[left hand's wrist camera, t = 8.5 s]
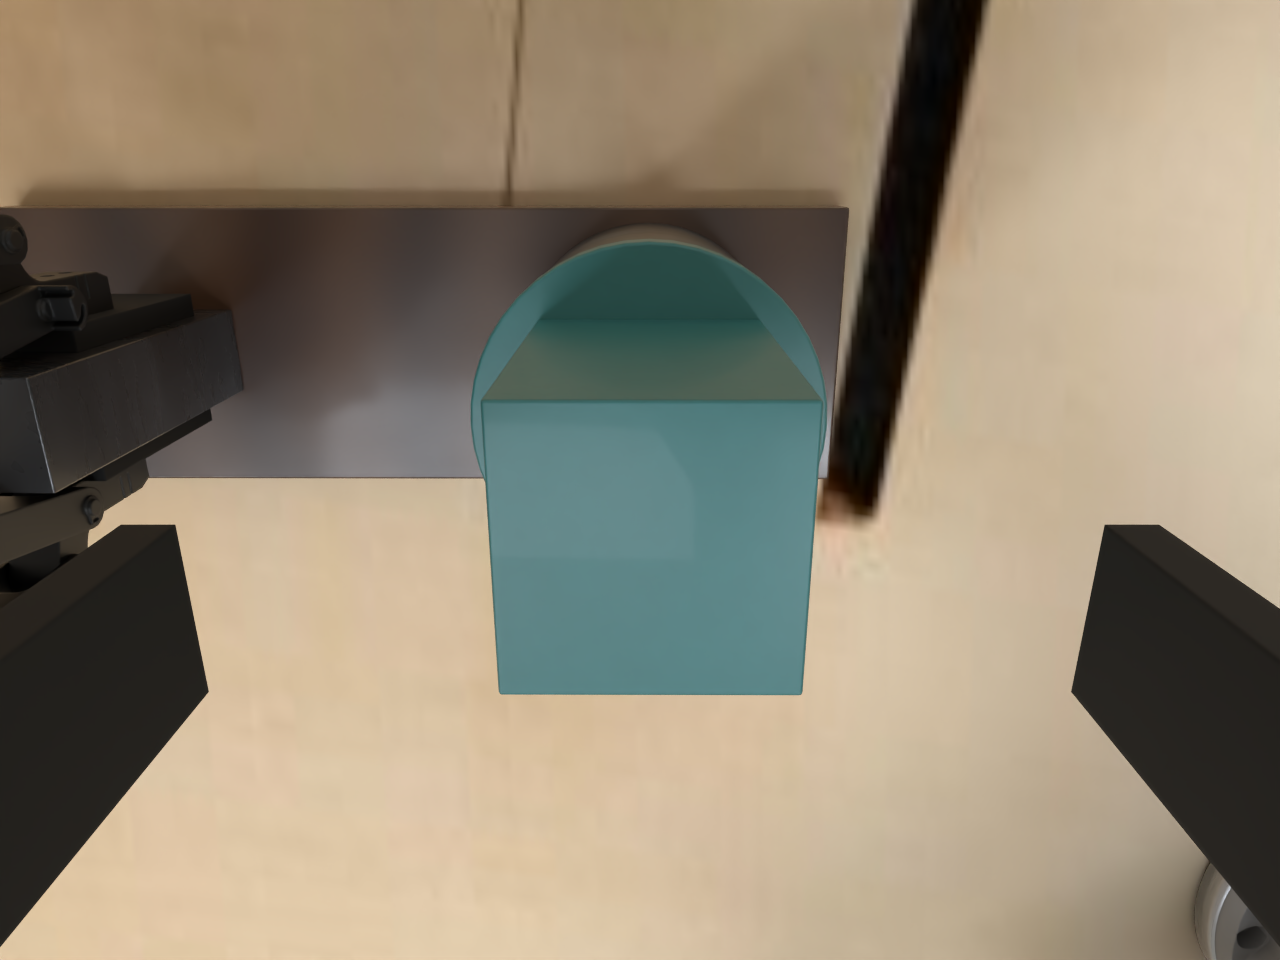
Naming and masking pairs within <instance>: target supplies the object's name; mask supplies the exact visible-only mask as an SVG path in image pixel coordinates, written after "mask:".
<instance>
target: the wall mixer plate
mask: <svg viewBox="0 0 1280 960" xmlns="http://www.w3.org/2000/svg"><path fill="white" fill-rule="evenodd" d="M0 214H5V215H9V216H12V217H14V218H15V219H16V220H17V221H18V222H19V223H20V224H21V226H22V227H23V229H24V231H25V234H26V237H27V242H28V251H27V254H26V258H25V259H24V260H23V261H22V263H21V264H22V266H23V268H24V269H25V271H26V272H27V273H28V274H29V275H31V274H37V273H43V272H98V273H101V274H103V275H105V276H107V277H108V282H109V287H110V292H111V294H191V299H192V305H193V311H194V316H191V317H188V318H185V319H182V320H179V321H176V322H173V323H169V324H166V325H163V326H160V327H157V328H154V329H151V330H148V331H144V332H141V333H138V334H135V335H132V336H129V337H126V338H123V339H120V340H116V341H113V342H110V343H107V344H104V345H101V346H98V347H95V348H91V349H88V350H85V351H82V352H79V353H11V354H9V355H7V356H5V357H3V358H1V359H0V493H56V492H58V491H60V490H62V489H64V488H65V487H67V486H69V485H71V484H73V483H75V482H76V481H78V480H80V479H82V478H84V477H86V476H87V475H89V474H91V473H93V472H95V471H97V470H98V469H100V468H102V467H104V466H106V465H107V464H109V463H111V462H113V461H115V460H117V459H118V458H120V457H122V456H124V455H126V454H128V453H129V452H131V451H133V450H135V449H137V448H139V447H140V446H142V445H144V444H146V443H148V442H150V441H151V440H153V439H155V438H157V437H159V436H161V435H162V434H164V433H166V432H168V431H170V430H171V429H173V428H175V427H177V426H179V425H181V424H182V423H184V422H186V421H188V420H190V419H192V418H193V417H195V416H197V415H199V414H201V413H203V412H204V411H206V410H208V409H211V415H212V421H210V422H208V423H207V424H205V425H203V426H201V427H200V428H198V429H196V430H195V431H193V432H191V433H189V434H188V435H186V436H184V437H182V438H181V439H179V440H177V441H175V442H174V443H172V444H170V445H168V446H167V447H165V448H163V449H161V450H160V451H158V452H156V453H154V454H153V455H151V456H149V457H147V458H146V463H147V468H148V473H149V478H483V476H482V473H481V471H480V469H479V465H478V461H477V458H476V454H475V450H474V446H473V439H472V431H471V397H472V389H473V382H474V378H475V374H476V370H477V367H478V363H479V360H480V357H481V354H482V352H483V350H484V348H485V345H486V343H487V341H488V338H489V336H490V335H491V333H492V331H493V330H494V328H495V326H496V325H497V323H498V322H499V320H500V318H501V317H502V315H503V314H504V313H505V312H506V310H507V309H508V308H509V307H510V306H511V304H512V303H513V302H514V301H515V299H516V298H517V297H518V296H519V295H520V294H521V293H522V292H523V291H524V290H526V289H527V288H528V287H529V286H530V285H531V284H532V283H533V282H534V281H535V280H536V279H537V278H538V277H540V276H541V275H543V274H544V273H546V272H547V271H548V270H550V269H551V268H553V267H554V266H556V265H557V264H559V263H561V262H563V261H565V260H567V259H568V258H570V257H572V256H574V255H576V254H578V253H581V252H584V251H586V250H589V249H592V248H595V247H598V246H601V245H605V244H610V243H615V242H619V241H624V240H638V239H661V240H674V241H679V242H684V243H688V244H693V245H698V246H700V247H703V248H706V249H709V250H712V251H715V252H717V253H720V254H722V255H724V256H726V257H728V258H730V259H732V260H734V261H735V262H737V263H739V264H741V265H743V266H744V267H745V268H747V269H748V270H750V271H751V272H752V273H754V274H755V275H757V276H758V277H760V278H761V279H762V280H763V281H764V282H765V283H766V284H767V285H768V286H769V287H770V288H771V289H773V290H774V291H775V292H776V293H777V294H778V295H779V296H780V297H781V298H782V299H783V300H784V301H785V303H786V304H787V305H788V306H789V308H790V309H791V310H792V311H793V313H794V314H795V315H796V316H797V318H798V319H799V321H800V323H801V324H802V326H803V328H804V329H805V331H806V333H807V334H808V336H809V338H810V340H811V343H812V345H813V347H814V350H815V352H816V354H817V357H818V359H819V363H820V367H821V370H822V374H823V378H824V382H825V390H826V398H827V430H826V437H825V444H824V449H823V453H822V456H821V460H820V463H819V473H818V479H827V478H828V475H829V462H830V449H831V436H832V424H833V411H834V398H835V385H836V372H837V359H838V346H839V333H840V321H841V308H842V295H843V282H844V269H845V256H846V243H847V230H848V218H849V208H847V207H841V206H6V207H0Z"/></svg>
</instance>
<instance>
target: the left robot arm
mask: <svg viewBox="0 0 1280 960" xmlns="http://www.w3.org/2000/svg"><path fill="white" fill-rule="evenodd" d="M208 692H209V691H208V686H207V681H206V676H205V671H204V666H203V661H202V656H201V651H200V646H199V641H198V636H197V631H196V626H195V621H194V616H193V611H192V606H191V601H190V596H189V591H188V586H187V581H186V576H185V571H184V566H183V561H182V556H181V551H180V546H179V541H178V536H177V531H176V526H175V525H120V526H119V527H117V528H116V529H114V530H113V531H111V532H110V533H108V534H107V535H106V536H104V537H103V538H101V539H100V540H98V541H97V542H96V543H94V544H93V545H91V546H90V547H88V548H87V549H85V550H84V551H83V552H81V553H80V554H78V555H77V556H75V557H74V558H73V559H71V560H70V561H68V562H67V563H65V564H64V565H62V566H61V567H60V568H58V569H57V570H55V571H54V572H52V573H51V574H50V575H48V576H47V577H45V578H44V579H42V580H41V581H40V582H38V583H37V584H35V585H34V586H32V587H31V588H29V589H28V590H27V591H25V592H24V593H22V594H21V595H19V596H18V597H17V598H15V599H14V600H12V601H11V602H9V603H8V604H6V605H5V606H4V607H2V608H1V609H0V947H1V945H2V944H3V943H4V942H5V941H6V939H7V938H8V937H9V936H10V934H11V933H12V932H13V931H14V930H15V928H16V927H17V926H18V925H19V923H20V922H21V921H22V920H23V918H24V917H25V916H26V915H27V914H28V912H29V911H30V910H31V909H32V907H33V906H34V905H35V904H36V903H37V901H38V900H39V899H40V898H41V896H42V895H43V894H44V893H45V892H46V890H47V889H48V888H49V887H50V885H51V884H52V883H53V882H54V881H55V879H56V878H57V877H58V876H59V874H60V873H61V872H62V871H63V870H64V868H65V867H66V866H67V865H68V863H69V862H70V861H71V860H72V858H73V857H74V856H75V855H76V854H77V852H78V851H79V850H80V849H81V847H82V846H83V845H84V844H85V843H86V841H87V840H88V839H89V838H90V836H91V835H92V834H93V833H94V832H95V830H96V829H97V828H98V827H99V825H100V824H101V823H102V822H103V821H104V819H105V818H106V817H107V816H108V814H109V813H110V812H111V811H112V810H113V808H114V807H115V806H116V805H117V803H118V802H119V801H120V800H121V798H122V797H123V796H124V795H125V794H126V792H127V791H128V790H129V789H130V787H131V786H132V785H133V784H134V783H135V781H136V780H137V779H138V778H139V776H140V775H141V774H142V773H143V772H144V770H145V769H146V768H147V767H148V765H149V764H150V763H151V762H152V761H153V759H154V758H155V757H156V756H157V754H158V753H159V752H160V751H161V750H162V748H163V747H164V746H165V745H166V743H167V742H168V741H169V740H170V739H171V737H172V736H173V735H174V734H175V732H176V731H177V730H178V729H179V727H180V726H181V725H182V724H183V723H184V721H185V720H186V719H187V718H188V716H189V715H190V714H191V713H192V712H193V710H194V709H195V708H196V707H197V705H198V704H199V703H200V702H201V701H202V699H203V698H204V697H205V696H206V694H207V693H208ZM1071 692H1072V693H1073V694H1074V696H1075V697H1076V698H1077V699H1078V701H1079V702H1080V703H1081V704H1082V705H1083V707H1084V708H1085V709H1086V710H1087V712H1088V713H1089V714H1090V715H1091V716H1092V718H1093V719H1094V720H1095V721H1096V723H1097V724H1098V725H1099V726H1100V727H1101V729H1102V730H1103V731H1104V732H1105V734H1106V735H1107V736H1108V737H1109V739H1110V740H1111V741H1112V742H1113V743H1114V745H1115V746H1116V747H1117V748H1118V750H1119V751H1120V752H1121V753H1122V754H1123V756H1124V757H1125V758H1126V759H1127V761H1128V762H1129V763H1130V764H1131V765H1132V767H1133V768H1134V769H1135V770H1136V772H1137V773H1138V774H1139V775H1140V776H1141V778H1142V779H1143V780H1144V781H1145V783H1146V784H1147V785H1148V786H1149V787H1150V789H1151V790H1152V791H1153V792H1154V794H1155V795H1156V796H1157V797H1158V799H1159V800H1160V801H1161V802H1162V803H1163V805H1164V806H1165V807H1166V808H1167V810H1168V811H1169V812H1170V813H1171V814H1172V816H1173V817H1174V818H1175V819H1176V821H1177V822H1178V823H1179V824H1180V825H1181V827H1182V828H1183V829H1184V830H1185V832H1186V833H1187V834H1188V835H1189V836H1190V838H1191V839H1192V840H1193V841H1194V843H1195V844H1196V845H1197V846H1198V847H1199V849H1200V850H1201V851H1202V852H1203V854H1204V855H1205V856H1206V857H1207V858H1208V860H1209V861H1210V864H1209V866H1208V868H1207V869H1206V871H1205V874H1204V876H1203V878H1202V881H1201V883H1200V887H1199V890H1198V893H1197V898H1196V904H1195V917H1194V920H1195V930H1196V935H1197V939H1198V942H1199V945H1200V947H1201V950H1202V952H1203V954H1204V956H1205V957H1206V959H1207V960H1280V609H1279V608H1278V607H1276V606H1275V605H1274V604H1272V603H1271V602H1269V601H1268V600H1266V599H1265V598H1263V597H1262V596H1261V595H1259V594H1258V593H1256V592H1255V591H1253V590H1252V589H1251V588H1249V587H1248V586H1246V585H1245V584H1243V583H1242V582H1240V581H1239V580H1238V579H1236V578H1235V577H1233V576H1232V575H1230V574H1229V573H1228V572H1226V571H1225V570H1223V569H1222V568H1220V567H1219V566H1218V565H1216V564H1215V563H1213V562H1212V561H1210V560H1209V559H1207V558H1206V557H1205V556H1203V555H1202V554H1200V553H1199V552H1197V551H1196V550H1195V549H1193V548H1192V547H1190V546H1189V545H1187V544H1186V543H1184V542H1183V541H1182V540H1180V539H1179V538H1177V537H1176V536H1174V535H1173V534H1172V533H1170V532H1169V531H1167V530H1166V529H1164V528H1163V527H1161V526H1160V525H1105V526H1104V531H1103V536H1102V541H1101V546H1100V551H1099V556H1098V561H1097V566H1096V571H1095V576H1094V581H1093V586H1092V591H1091V596H1090V601H1089V606H1088V611H1087V616H1086V621H1085V626H1084V631H1083V636H1082V641H1081V646H1080V651H1079V656H1078V661H1077V666H1076V671H1075V676H1074V681H1073V686H1072V691H1071Z"/></svg>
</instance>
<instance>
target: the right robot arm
mask: <svg viewBox="0 0 1280 960" xmlns="http://www.w3.org/2000/svg"><path fill="white" fill-rule="evenodd" d="M27 251H28V242H27V237H26V234H25V231H24V229H23V227H22V226H21V224H20V223H19V222H18V221H17V220H16V219H15V218H14V217H12V216H9V215H5V214H0V359H1V358H3V357H5V356H7V355H9V354H11V353H79V352H82V351H85V350H88V349H91V348H95V347H98V346H101V345H104V344H107V343H110V342H113V341H116V340H120V339H123V338H126V337H129V336H132V335H135V334H138V333H141V332H144V331H148V330H151V329H154V328H157V327H160V326H163V325H166V324H169V323H173V322H176V321H179V320H182V319H185V318H188V317H191V316H194V311H193V305H192V299H191V294H111V292H110V287H109V282H108V277H107V276H105V275H103V274H101V273H98V272H43V273H37V274H31V275H29V274H28V273H27V272H26V271H25V269H24V268H23V266H22V264H21V263H22V261H23V260H24V259H25V258H26V254H27ZM210 421H212V415H211V409H208V410H206V411H204V412H203V413H201V414H199V415H197V416H195V417H193V418H192V419H190V420H188V421H186V422H184V423H182V424H181V425H179V426H177V427H175V428H173V429H171V430H170V431H168V432H166V433H164V434H162V435H161V436H159V437H157V438H155V439H153V440H151V441H150V442H148V443H146V444H144V445H142V446H140V447H139V448H137V449H135V450H133V451H131V452H129V453H128V454H126V455H124V456H122V457H120V458H118V459H117V460H115V461H113V462H111V463H109V464H107V465H106V466H104V467H102V468H100V469H98V470H97V471H95V472H93V473H91V474H89V475H87V476H86V477H84V478H82V479H80V480H78V481H76V482H75V483H73V484H71V485H69V486H67V487H65V488H64V489H62V490H60V491H58V492H56V493H0V609H1V608H2V607H4V606H5V605H6V604H8V603H9V602H11V601H12V600H14V599H15V598H17V597H18V596H19V595H21V594H22V593H24V592H25V591H27V590H28V589H29V588H31V587H32V586H34V585H35V584H37V583H38V582H40V581H41V580H42V579H44V578H45V577H47V576H48V575H50V574H51V573H52V572H54V571H55V570H57V569H58V568H60V567H61V566H62V565H64V564H65V563H67V562H68V561H70V560H71V559H73V558H74V557H75V556H77V555H78V554H80V553H81V552H83V551H84V550H85V549H87V548H88V533H89V530H90V529H93V528H94V527H96V526H97V525H99V523H100V521H101V520H102V517H103V513H104V511H105V510H107V509H109V508H110V507H112V506H113V505H115V504H117V503H118V502H120V501H121V500H123V499H124V498H126V497H128V496H129V495H131V493H134V492H136V491H137V490H139V489H140V488H142V487H143V485H144V484H145V482H146V481H147V479H148V478H149V473H148V468H147V463H146V458H147V457H149V456H151V455H153V454H154V453H156V452H158V451H160V450H161V449H163V448H165V447H167V446H168V445H170V444H172V443H174V442H175V441H177V440H179V439H181V438H182V437H184V436H186V435H188V434H189V433H191V432H193V431H195V430H196V429H198V428H200V427H201V426H203V425H205V424H207V423H208V422H210Z"/></svg>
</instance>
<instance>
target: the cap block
mask: <svg viewBox="0 0 1280 960" xmlns="http://www.w3.org/2000/svg"><path fill="white" fill-rule="evenodd" d="M826 430H827V398H826V390H825V382H824V378H823V374H822V370H821V367H820V363H819V359H818V357H817V354H816V352H815V350H814V347H813V345H812V343H811V340H810V338H809V336H808V334H807V333H806V331H805V329H804V328H803V326H802V324H801V323H800V321H799V319H798V318H797V316H796V315H795V314H794V313H793V311H792V310H791V309H790V308H789V306H788V305H787V304H786V303H785V301H784V300H783V299H782V298H781V297H780V296H779V295H778V294H777V293H776V292H775V291H774V290H773V289H771V288H770V287H769V286H768V285H767V284H766V283H765V282H764V281H763V280H762V279H761V278H760V277H758V276H757V275H755V274H754V273H752V272H751V271H750V270H748V269H747V268H745V267H744V266H743V265H741V264H739V263H737V262H735V261H734V260H732V259H730V258H728V257H726V256H724V255H722V254H720V253H717V252H715V251H712V250H709V249H706V248H703V247H700V246H698V245H693V244H688V243H684V242H679V241H674V240H661V239H638V240H624V241H619V242H615V243H610V244H605V245H601V246H598V247H595V248H592V249H589V250H586V251H584V252H581V253H578V254H576V255H574V256H572V257H570V258H568V259H567V260H565V261H563V262H561V263H559V264H557V265H556V266H554V267H553V268H551V269H550V270H548V271H547V272H546V273H544V274H543V275H541V276H540V277H538V278H537V279H536V280H535V281H534V282H533V283H532V284H531V285H530V286H529V287H528V288H527V289H526V290H524V291H523V292H522V293H521V294H520V295H519V296H518V297H517V298H516V299H515V301H514V302H513V303H512V304H511V306H510V307H509V308H508V309H507V310H506V312H505V313H504V314H503V315H502V317H501V318H500V320H499V322H498V323H497V325H496V326H495V328H494V330H493V331H492V333H491V335H490V336H489V338H488V341H487V343H486V345H485V348H484V350H483V352H482V354H481V357H480V360H479V363H478V367H477V370H476V374H475V378H474V382H473V389H472V397H471V431H472V439H473V446H474V450H475V454H476V458H477V461H478V465H479V469H480V471H481V473H482V476H483V478H484V480H485V483H486V499H487V514H488V530H489V546H490V561H491V577H492V592H493V608H494V624H495V639H496V655H497V671H498V686H499V693H500V694H563V695H801V694H802V690H803V677H804V663H805V650H806V636H807V622H808V609H809V595H810V582H811V568H812V554H813V541H814V527H815V514H816V500H817V486H818V473H819V463H820V460H821V456H822V453H823V449H824V444H825V437H826Z"/></svg>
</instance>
